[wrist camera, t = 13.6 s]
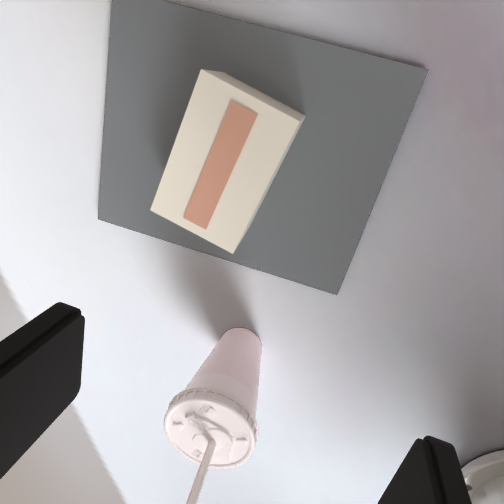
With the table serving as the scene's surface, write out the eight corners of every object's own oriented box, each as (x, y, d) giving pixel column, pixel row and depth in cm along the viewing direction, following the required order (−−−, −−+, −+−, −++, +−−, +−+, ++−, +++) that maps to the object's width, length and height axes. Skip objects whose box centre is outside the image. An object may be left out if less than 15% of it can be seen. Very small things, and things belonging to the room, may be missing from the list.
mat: (426, 70, 23) (428, 69, 22) (337, 291, 29) (337, 295, 29) (117, -11, 24) (112, -13, 24) (101, 216, 31) (97, 219, 31)
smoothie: (235, 383, 35) (178, 546, 23) (192, 332, 34) (108, 476, 21) (291, 357, 33) (263, 525, 20) (248, 302, 32) (189, 444, 19)
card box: (247, 230, 28) (232, 254, 24) (176, 192, 28) (149, 210, 24) (305, 115, 24) (299, 121, 20) (223, 72, 24) (200, 68, 20)
